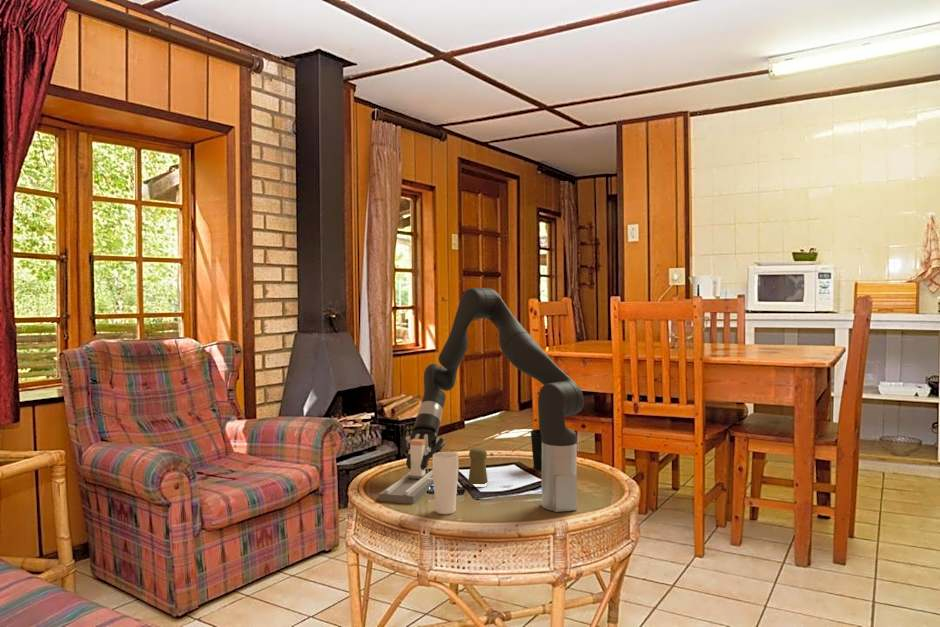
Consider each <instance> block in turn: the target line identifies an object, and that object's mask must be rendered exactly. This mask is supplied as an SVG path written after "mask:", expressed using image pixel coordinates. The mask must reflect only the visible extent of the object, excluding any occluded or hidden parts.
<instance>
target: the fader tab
mask: <svg viewBox="0 0 940 627" xmlns="http://www.w3.org/2000/svg"><path fill="white" fill-rule="evenodd" d="M425 444H426V439H412V440H410V441H409V446H410V448H411V469H410V472H411V475H409V478H415V479H421V478H423V477H424V476H425V475H426V473H427V472H426V468H425V469H424V470H422V469H421V467H420V466H421V462H422V458H423V456H424V450H425Z"/></svg>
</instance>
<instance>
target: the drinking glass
mask: <svg viewBox="0 0 940 627" xmlns="http://www.w3.org/2000/svg"><path fill="white" fill-rule="evenodd" d="M431 462H432V468H431V471H433V483H434V486H433V492H434V510H435V512H436V513H437V514H439V515H452V514H454V513H455V512H456V509H457V506H456V505H457V490H458V480H459V454H458V453H456V452H451V451H440V452H438V453H435V454H433V457H432V461H431Z"/></svg>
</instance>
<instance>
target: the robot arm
mask: <svg viewBox="0 0 940 627" xmlns="http://www.w3.org/2000/svg"><path fill="white" fill-rule="evenodd" d="M474 319H487V320H489V321H490V322H491V323H492V324H493V325H494V326H495V327H496V329H497V330H498V343H499V348H500V350H501V351H502V354H503V355H504V356H505V357H506V359H507V360H508V361H509V362H510V364H512V366H513V367H515V368H517V370H519V371H520V372H523V373H524V374H526V375H527V376H529V377H531V378H533V379H534V380H537V381H538V382H539V383H541V385H542V386H541V388H540V390H539V392H538V396H537V397H538V398H537V410H538V411H537V412H538V413H537V415H538V429H540V433H541V436H542V471H541V507H542V508H543V509H545V510H548V511H552V512H555V513H560V512H570V511H577V510H578V475H577V463H578V462H577V458H578V457H577V455H578V454H577V452H578V451H577V450H578V448H577V447H578V446H577V445H578V436H577V432H576V431H574V430H573V429H570V428H568V427H567V426H566V422H565V418H566V417H571V416H574V415H576V414H579V413H580V412H582V410H583V409H584V406H585V398H584V393H583V391H582V388H580V387H579V384H577V383H576V381H574V380H573V379H572V378H571V377H570V376H569V375H568V374H567V373H566V372H565V371H563V370H562V369H561V368H560V367H559V366H558V365H557V364H556V363H555V362H554V360H553V359H551V358H550V356H549V355H548V354H547V353H546V352H545V351H544V350H543V349H542V347H541V346H540V345H539V344H538V342H537V341H536V340H535V339H534V337H533V336H532V335H531V334H530V333H529V332H528V331H527V330H526V328H524V327H523V325H522V324H521V323H520V322H519V320H518V319H517V318H516V316H514V314H513V313H512V312H511V310H510V309H509V308H508V306H507V304H506V303H505V301H504V300H503V299H502V297H501V296H500V294H499V293H498V291H496V290H495V289H493V288H490V287H470V288H468V289H466V290H465V291H464V292H463V293H462V296H461V298H460V300H459V304H458V307H457V310H456V312H455V316H454V320H453V323H452V326H451V329H450V332H449V335H448V336H447V337H448V338H447V339H446V341H445V344H444V346H443V347H442V349H441V351H440V353H439V356H438V362H439V364H440V365H439V364H436V363H431V364H428V365H427V366H426V368H425V370H424V372H423V396H422V401H421V402H420V406H419V408H418V411H417V414H416V415H417V416H416V419H415V423H414V426H413V429H412V431H411V434H409V435H408V436H406V435H401V444H402V452H403V454H404V455H405V457H407V458H406V462H405V464H406V467H407V469H408V470H411V447H410V448H409V445H410V441H411V440H412V439H426V444H425V450H424V456H423V458H422V462H421V466H420V467H421V469H422V470H424V469H425V470H426V469H427V468H428V463H429V460H430V459H433V454H435V453H438V452H442V451H441V450H442V449H443V448H444V446H445V445H446V443H445V439H444V438H443V437H440V438H439V437H438V433H439V430H440V426H441V422H442V419H443V418H442V417H443V410H444V407H445V402H446V398H447V396H446V393H445V392H448V391H450V390H452V389H453V388H454V387H455V385H456V381H457V374H458V369H459V366H460V364H461V363H462V360H463V359H464V357H465V355H466V353H467V351H468V347H469V340H468V339H469V338H468V328H469V326H470V324H472V322H473V320H474ZM432 446H433V447H432ZM431 447H432V448H431Z"/></svg>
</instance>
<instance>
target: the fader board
mask: <svg viewBox="0 0 940 627" xmlns="http://www.w3.org/2000/svg"><path fill="white" fill-rule="evenodd" d="M425 473H426V475H425V476H424V477H423V478H421V479H415V478H409V475H411V471H408V472H406V473H405V474H403V476H401V477H400V478H398V479H396V481H394V482H393V483H392V484H390V485H389V486H388V487H385V489H384V490H383V489H382V491H380V492H379V493H378V501H379V500H381V501H380V502H385V501H388V503H399V504H411V505H414V504H415V503H417V501H419V500H420V499H421V498H422V497H423V496H424V495H426V493H428V492H429V491H428V489H429V487H430V486H431V485H432V484H433V471H432V470H430V471H429V472H425ZM427 491H428V492H427Z"/></svg>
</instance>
